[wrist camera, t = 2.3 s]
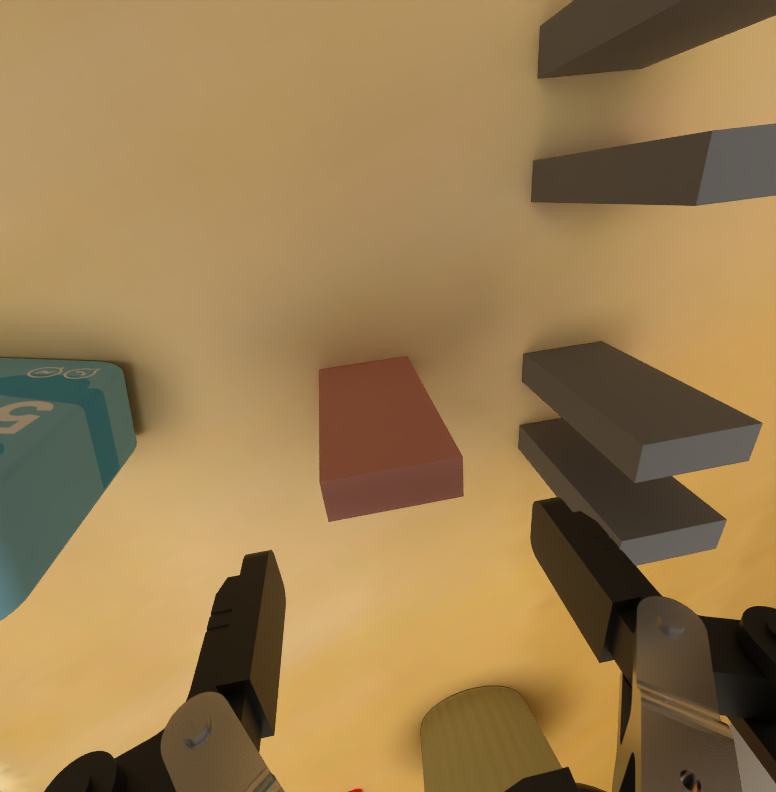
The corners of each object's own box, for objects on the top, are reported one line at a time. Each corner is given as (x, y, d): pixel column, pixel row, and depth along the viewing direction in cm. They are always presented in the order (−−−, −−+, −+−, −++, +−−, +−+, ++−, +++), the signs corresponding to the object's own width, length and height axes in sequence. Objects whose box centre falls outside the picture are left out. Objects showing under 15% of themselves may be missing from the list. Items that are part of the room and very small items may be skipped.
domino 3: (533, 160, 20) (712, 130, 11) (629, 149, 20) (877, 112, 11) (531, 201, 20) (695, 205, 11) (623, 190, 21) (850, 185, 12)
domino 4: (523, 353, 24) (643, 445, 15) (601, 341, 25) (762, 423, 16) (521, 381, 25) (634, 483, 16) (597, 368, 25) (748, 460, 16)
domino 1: (319, 369, 23) (319, 482, 14) (406, 356, 23) (462, 456, 14) (324, 398, 23) (328, 521, 14) (409, 384, 24) (463, 496, 15)
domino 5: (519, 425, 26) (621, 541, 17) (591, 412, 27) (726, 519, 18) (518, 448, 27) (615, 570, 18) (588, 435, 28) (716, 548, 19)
